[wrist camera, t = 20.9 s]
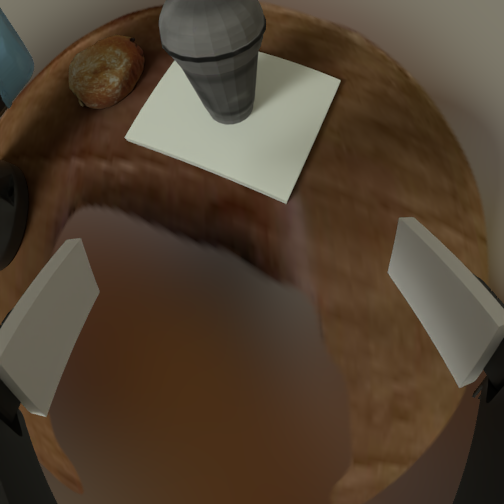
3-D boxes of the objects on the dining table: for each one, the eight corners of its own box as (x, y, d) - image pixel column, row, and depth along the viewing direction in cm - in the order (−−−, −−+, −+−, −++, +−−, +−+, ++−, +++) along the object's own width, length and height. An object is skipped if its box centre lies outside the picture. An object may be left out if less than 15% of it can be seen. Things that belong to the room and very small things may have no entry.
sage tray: (128, 141, 29) (124, 137, 28) (194, 41, 29) (193, 36, 28) (286, 204, 27) (287, 201, 26) (339, 85, 28) (340, 80, 27)
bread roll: (87, 99, 33) (45, 96, 26) (116, 35, 29) (76, 21, 22) (132, 121, 33) (87, 118, 25) (166, 48, 29) (126, 29, 21)
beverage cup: (260, 142, 27) (246, -49, 7) (186, 133, 27) (92, -27, 7) (273, 82, 27) (272, -91, 7) (204, 76, 27) (151, -81, 8)
